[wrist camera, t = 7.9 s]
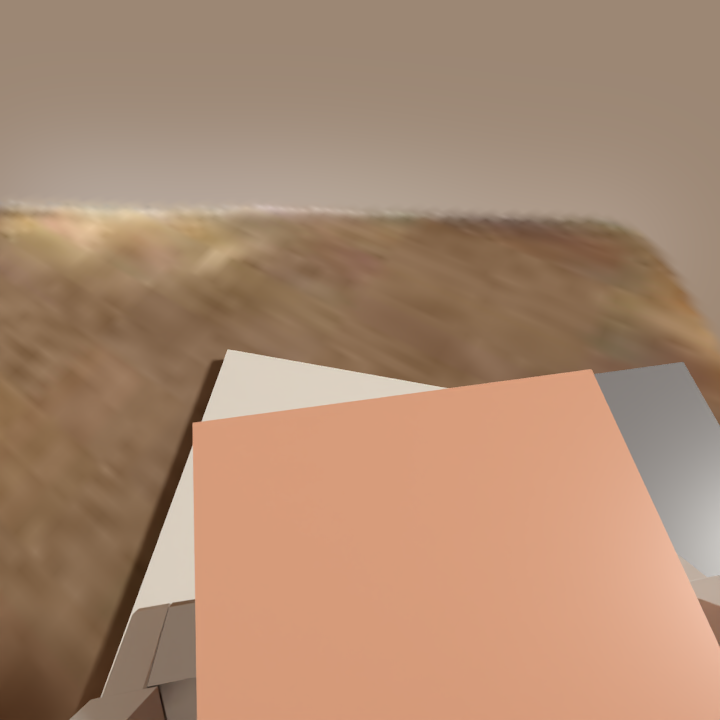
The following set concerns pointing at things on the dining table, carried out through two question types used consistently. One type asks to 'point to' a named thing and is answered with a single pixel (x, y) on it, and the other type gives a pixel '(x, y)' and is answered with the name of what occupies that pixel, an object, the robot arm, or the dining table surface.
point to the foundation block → (673, 453)
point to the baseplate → (241, 398)
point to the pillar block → (441, 564)
